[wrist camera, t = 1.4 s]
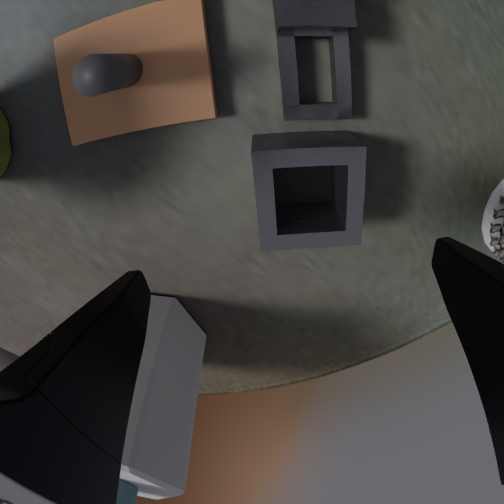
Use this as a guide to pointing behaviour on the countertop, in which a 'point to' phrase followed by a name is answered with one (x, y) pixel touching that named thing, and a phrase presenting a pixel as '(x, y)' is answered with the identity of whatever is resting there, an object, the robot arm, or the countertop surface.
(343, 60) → the dark clasp block
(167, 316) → the soap bottle
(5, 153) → the plant pot
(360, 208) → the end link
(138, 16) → the tan board with knob
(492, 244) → the decorative candle
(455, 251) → the robot arm
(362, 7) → the countertop surface
